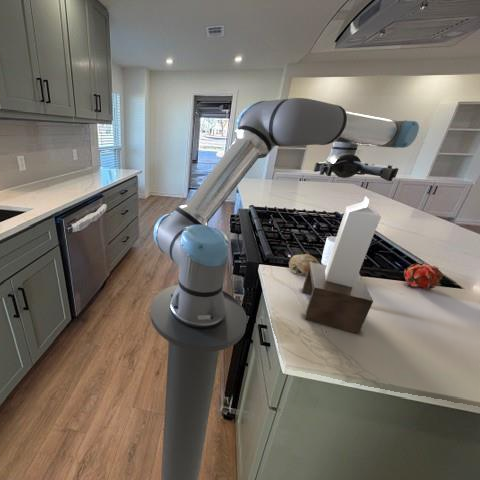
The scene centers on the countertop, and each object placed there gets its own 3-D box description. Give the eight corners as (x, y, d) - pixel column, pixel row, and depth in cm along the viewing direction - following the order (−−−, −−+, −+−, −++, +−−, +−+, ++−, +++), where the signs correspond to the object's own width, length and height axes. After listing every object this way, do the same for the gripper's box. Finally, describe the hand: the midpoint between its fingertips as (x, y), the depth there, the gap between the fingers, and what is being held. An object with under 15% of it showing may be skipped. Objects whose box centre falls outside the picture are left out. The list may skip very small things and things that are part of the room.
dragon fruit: (429, 287, 86) (406, 298, 83) (409, 265, 90) (387, 275, 86) (457, 278, 79) (433, 290, 75) (435, 255, 82) (411, 265, 79)
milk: (325, 281, 66) (352, 198, 57) (324, 271, 71) (349, 193, 62) (353, 288, 63) (386, 202, 55) (350, 277, 68) (380, 197, 60)
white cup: (332, 259, 100) (339, 235, 96) (348, 269, 93) (358, 244, 89) (314, 260, 99) (321, 236, 95) (330, 270, 92) (338, 245, 88)
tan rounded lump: (283, 276, 94) (283, 261, 89) (296, 258, 98) (297, 243, 93) (312, 287, 88) (314, 272, 82) (324, 268, 92) (327, 252, 87)
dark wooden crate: (304, 319, 67) (314, 287, 63) (301, 290, 80) (310, 262, 76) (358, 334, 63) (373, 301, 59) (346, 300, 75) (358, 271, 71)
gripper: (386, 180, 82) (413, 192, 64) (300, 173, 91) (304, 182, 74) (395, 156, 79) (427, 162, 61) (306, 151, 88) (310, 155, 71)
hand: (359, 173), depth 67 cm, fingers open, 13 cm apart
